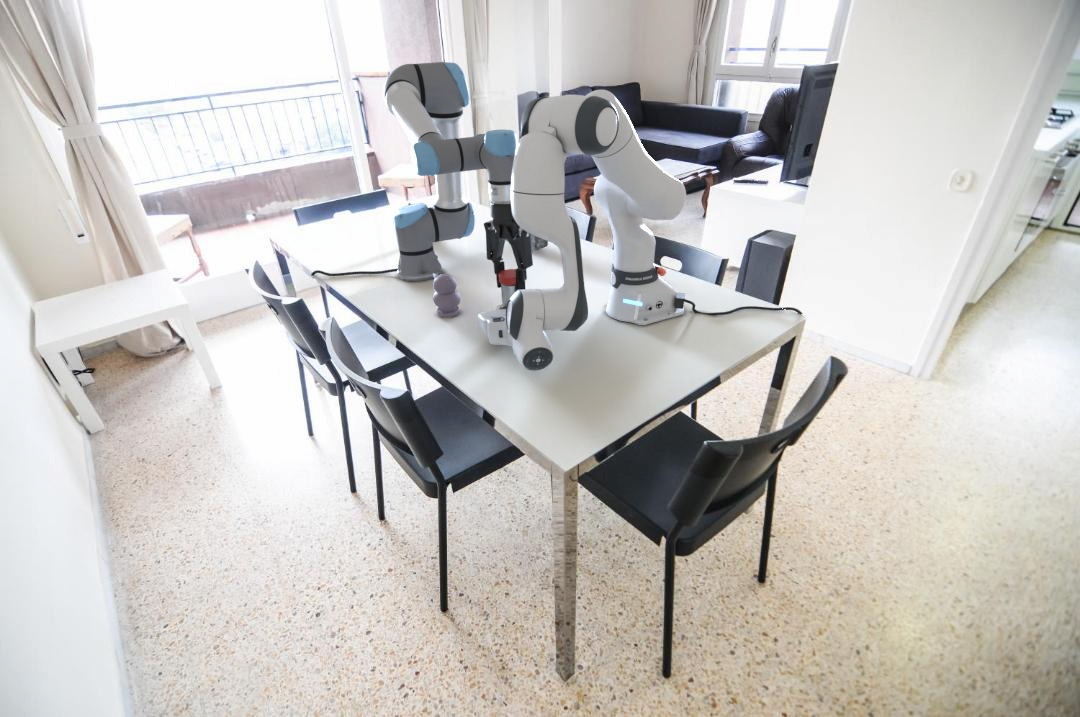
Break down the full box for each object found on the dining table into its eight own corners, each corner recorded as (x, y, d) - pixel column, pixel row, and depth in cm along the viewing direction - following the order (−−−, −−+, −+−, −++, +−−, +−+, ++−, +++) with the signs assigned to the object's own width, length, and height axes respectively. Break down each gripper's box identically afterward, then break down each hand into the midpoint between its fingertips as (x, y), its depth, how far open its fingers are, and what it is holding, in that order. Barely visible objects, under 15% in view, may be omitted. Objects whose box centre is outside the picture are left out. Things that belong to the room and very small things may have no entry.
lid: (523, 283, 129) (523, 276, 128) (500, 286, 128) (499, 278, 127) (520, 275, 134) (520, 268, 133) (498, 277, 133) (497, 270, 132)
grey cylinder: (500, 330, 138) (496, 277, 130) (511, 322, 142) (507, 270, 133) (516, 334, 135) (513, 281, 127) (527, 326, 139) (524, 273, 131)
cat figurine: (468, 312, 148) (463, 274, 142) (447, 321, 143) (441, 282, 137) (450, 304, 153) (445, 267, 147) (429, 313, 148) (423, 275, 142)
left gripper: (465, 199, 123) (475, 285, 135) (526, 209, 113) (531, 301, 125) (486, 192, 128) (493, 276, 140) (546, 201, 118) (548, 291, 130)
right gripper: (562, 311, 125) (548, 290, 136) (481, 323, 121) (474, 300, 132) (562, 333, 128) (548, 310, 139) (484, 345, 124) (476, 321, 135)
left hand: (511, 288), depth 132 cm, fingers closed on lid, 6 cm apart
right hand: (511, 305), depth 136 cm, fingers closed on grey cylinder, 5 cm apart
